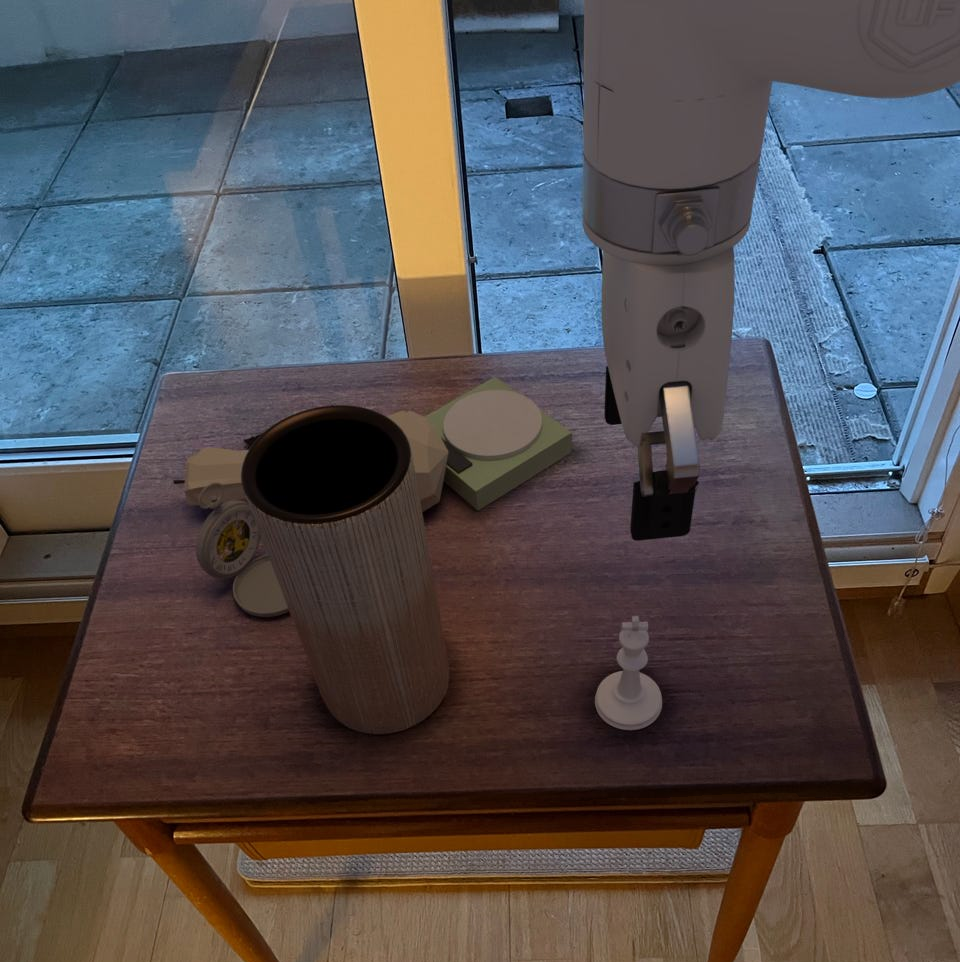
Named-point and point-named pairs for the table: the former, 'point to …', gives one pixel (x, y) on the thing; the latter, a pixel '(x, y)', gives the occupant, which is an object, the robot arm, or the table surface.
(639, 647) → the chess piece
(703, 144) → the robot arm
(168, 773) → the table surface
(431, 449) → the faceted club
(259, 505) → the planter
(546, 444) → the scale
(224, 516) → the pocket watch
